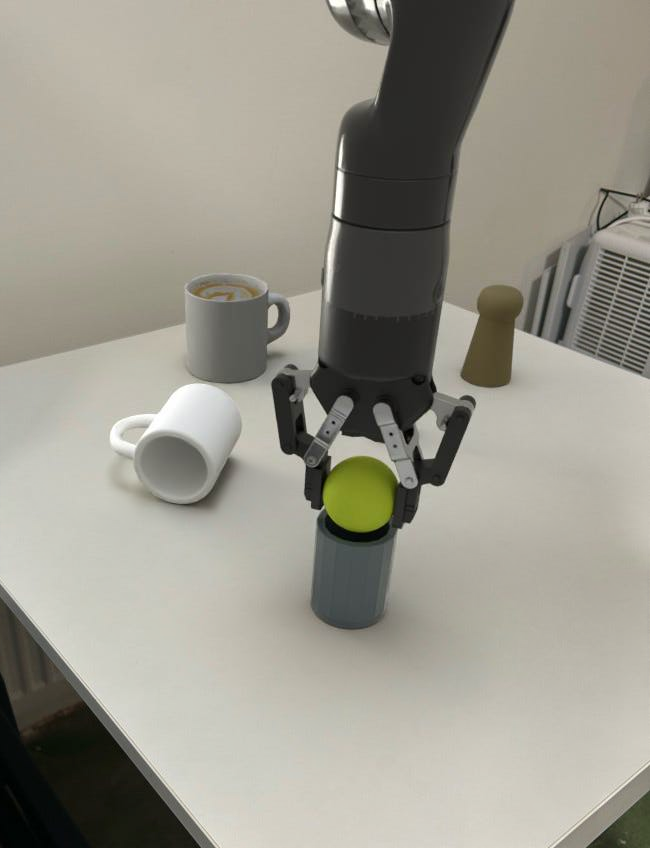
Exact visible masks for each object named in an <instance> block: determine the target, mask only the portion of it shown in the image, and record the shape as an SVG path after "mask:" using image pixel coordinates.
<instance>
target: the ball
mask: <svg viewBox="0 0 650 848" xmlns="http://www.w3.org/2000/svg"><path fill="white" fill-rule="evenodd" d="M398 484H399V480H398V478H397V476H396V474H395V473H394V471H393V470H392V469H391V468H390V467H389V466H388V464H386V463H385V462H384V461H382V460H380V459H378V458H375V457H372V456H368V455H355V456H350V457H347V458H345V459H343V460H341V461H340V462H338V463H337V464H335V466H334V467H332V468H331V470H330V473H329V474H328V476H327V478H326V480H325V483H324V487H323V502H324V506H323V507H324V509H326V511H327V513H328V515H329V516H330V517H331V519H332V520H333V521H334V522H335V523H336V524H338V525H339V526H341V527H342V528H344V529H346V530H349V531H353V532H369V531H373V530H376V529H378V528H380V527H382V526H383V525H385V524H386V523H387V522H388V521H389V520H390V519H391V518H392V517H393V514H394V507H395V500H396V492H397V486H398Z"/></svg>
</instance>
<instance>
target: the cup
mask: <svg viewBox="0 0 650 848" xmlns="http://www.w3.org/2000/svg"><path fill="white" fill-rule="evenodd" d="M315 520H316V522H315V533H314V534H315V535H314V546H313V547H314V548H313V549H314V550H313V562H312V574H311V589H310V606H311V608H312V611H313V612H314V614H315V615H316V616H317V617H318V618H319V619H320V620H321V621H322V622H324V623H326V624H328V625H331V626H333V627H336V628H340V629H346V630H357V629H358V630H359V629H364V628H368V627H371V626H373V625H375V624H376V623H377V622H380V620H382V618H383V616H384V615H385V613H386V609H387V605H388V601H389V600H388V599H389V593H390V586H391V585H390V584H391V578H392V571H393V565H394V558H395V550H396V546H397V545H396V543H397V538H398V531H399V529H398V528H394V527H392V521H393V517H392V518H391V519H390V520H389V521H388V522H387V523H386V524H385V525H383V526H382V527H380V528H378V529H376V530H373V531H369V532H353V531H349V530H346V529H344V528H342V527H341V526H339V525H338V524H336V523H335V522H334V521H333V520H332V519H331V517H330V516H329V515H328V513H327V511H326V509H325V508H322V509H321V510H320V512H319V514H318V516H317V517H316V519H315Z"/></svg>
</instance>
